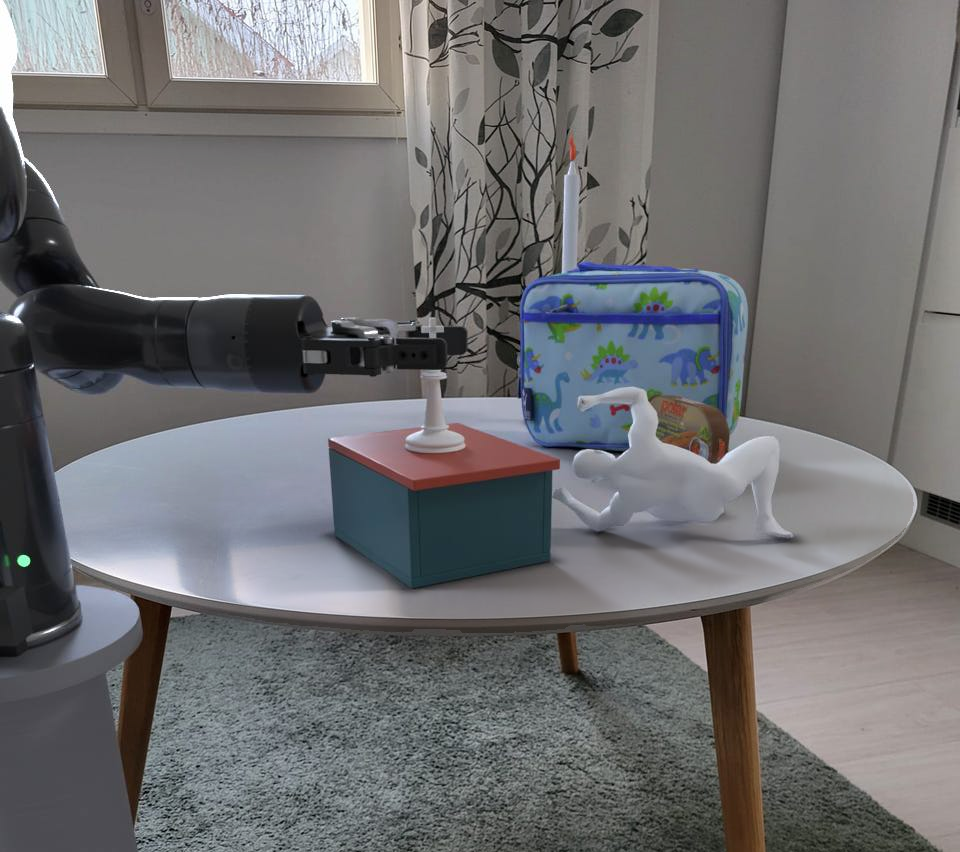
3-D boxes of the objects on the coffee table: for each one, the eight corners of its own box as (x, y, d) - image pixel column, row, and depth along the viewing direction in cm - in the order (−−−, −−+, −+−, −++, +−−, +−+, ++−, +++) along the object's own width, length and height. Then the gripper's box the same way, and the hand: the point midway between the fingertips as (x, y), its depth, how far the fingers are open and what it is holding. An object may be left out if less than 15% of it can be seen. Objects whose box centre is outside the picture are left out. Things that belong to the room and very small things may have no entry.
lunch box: (507, 445, 118) (508, 262, 110) (543, 429, 127) (546, 259, 119) (717, 468, 107) (736, 266, 99) (741, 448, 116) (760, 262, 108)
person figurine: (746, 392, 88) (582, 370, 80) (839, 450, 79) (664, 432, 71) (695, 520, 95) (538, 511, 86) (775, 587, 85) (609, 585, 77)
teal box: (550, 561, 79) (553, 466, 75) (411, 589, 73) (407, 488, 70) (459, 514, 91) (458, 432, 88) (334, 535, 85) (328, 447, 82)
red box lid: (560, 469, 75) (560, 459, 74) (413, 491, 69) (413, 480, 69) (458, 431, 88) (457, 422, 88) (328, 447, 82) (327, 437, 82)
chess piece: (472, 451, 77) (471, 320, 73) (411, 455, 76) (407, 322, 72) (457, 438, 81) (455, 314, 77) (399, 442, 80) (394, 316, 76)
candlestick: (521, 415, 136) (524, 136, 122) (597, 414, 137) (609, 136, 123) (529, 431, 126) (533, 129, 112) (611, 429, 127) (626, 129, 113)
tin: (632, 464, 109) (637, 388, 106) (657, 461, 110) (662, 386, 107) (702, 497, 96) (710, 412, 93) (730, 494, 97) (738, 409, 94)
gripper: (217, 302, 70) (437, 303, 67) (285, 288, 82) (472, 289, 80) (228, 407, 73) (440, 412, 70) (292, 378, 85) (473, 382, 83)
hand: (457, 347), depth 75 cm, fingers open, 8 cm apart
